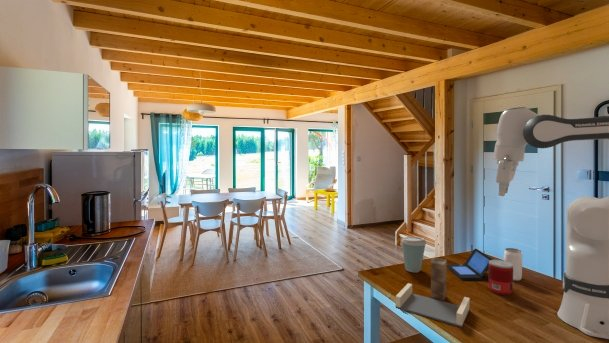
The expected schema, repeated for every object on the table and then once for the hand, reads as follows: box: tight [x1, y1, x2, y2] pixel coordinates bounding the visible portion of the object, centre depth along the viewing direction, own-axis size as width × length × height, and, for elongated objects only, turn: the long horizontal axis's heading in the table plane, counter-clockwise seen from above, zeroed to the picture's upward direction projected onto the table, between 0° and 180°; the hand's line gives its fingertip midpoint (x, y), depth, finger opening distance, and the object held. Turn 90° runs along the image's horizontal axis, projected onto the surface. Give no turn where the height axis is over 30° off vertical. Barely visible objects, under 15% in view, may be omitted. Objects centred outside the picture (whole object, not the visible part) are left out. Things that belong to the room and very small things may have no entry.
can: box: [503, 247, 523, 281], centre depth 132 cm, size 6×6×12 cm
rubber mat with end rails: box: [395, 282, 471, 328], centre depth 107 cm, size 21×13×4 cm, turn 53°
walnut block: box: [430, 257, 448, 301], centre depth 116 cm, size 4×4×14 cm
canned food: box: [487, 259, 514, 296], centre depth 120 cm, size 8×8×11 cm
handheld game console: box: [446, 248, 494, 281], centre depth 138 cm, size 16×13×9 cm
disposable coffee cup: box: [401, 236, 427, 273], centre depth 142 cm, size 11×11×15 cm
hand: (502, 194), depth 109 cm, fingers open, 8 cm apart
